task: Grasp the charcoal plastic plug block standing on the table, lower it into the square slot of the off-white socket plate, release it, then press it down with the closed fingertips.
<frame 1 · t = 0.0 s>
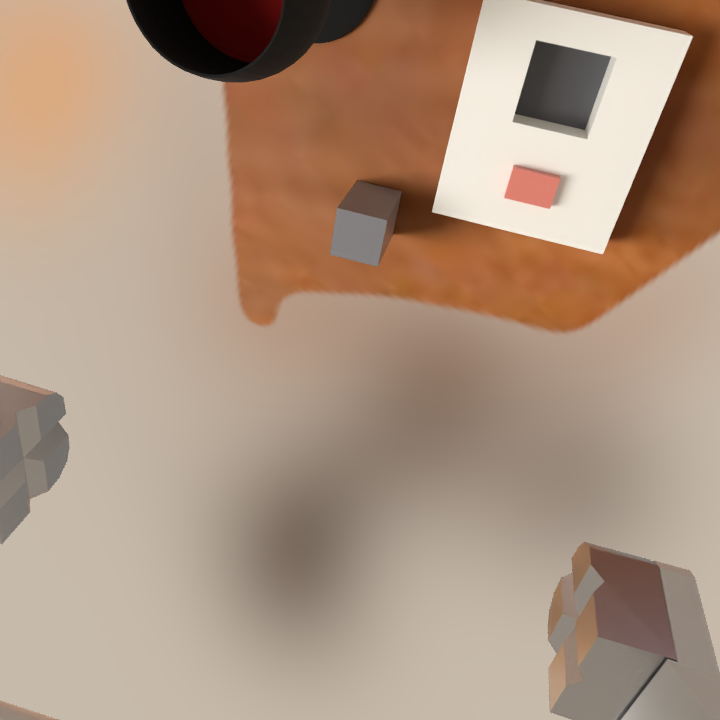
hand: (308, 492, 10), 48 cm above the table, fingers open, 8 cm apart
plug: (375, 207, 58), on the table
socket plate: (548, 123, 52), on the table
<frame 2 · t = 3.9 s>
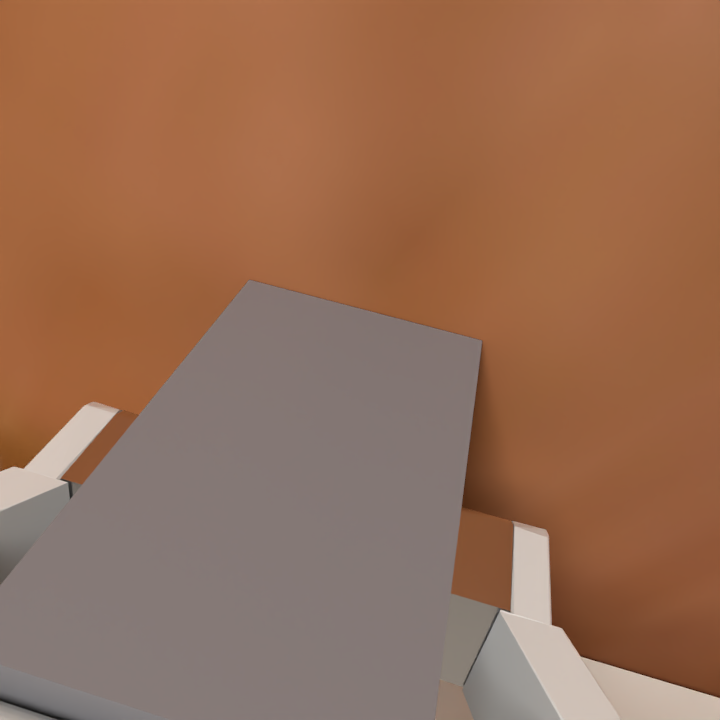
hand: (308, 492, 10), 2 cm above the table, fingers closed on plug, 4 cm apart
plug: (345, 403, 12), on the table, touching gripper
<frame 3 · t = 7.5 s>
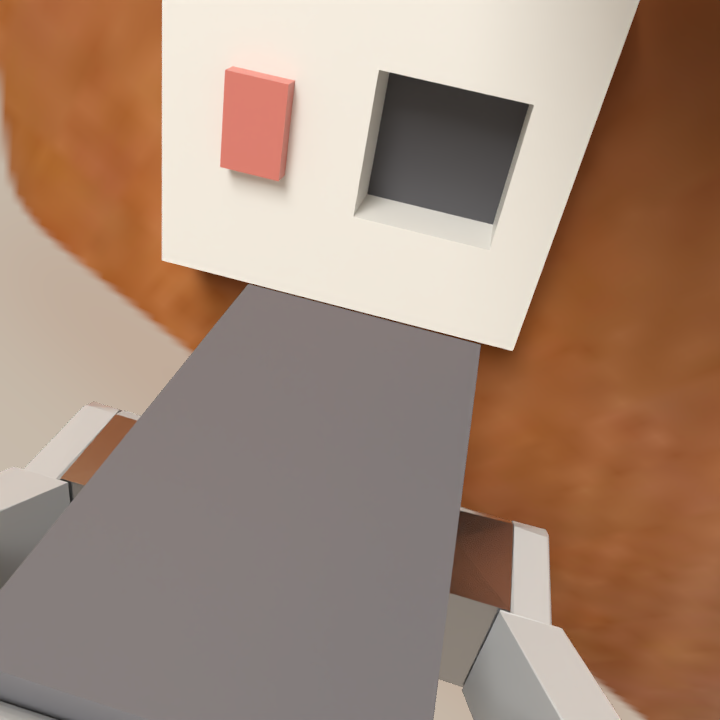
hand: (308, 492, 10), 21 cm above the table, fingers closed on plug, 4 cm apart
plug: (344, 406, 12), point 19 cm above the table, touching gripper
socket plate: (375, 127, 28), on the table
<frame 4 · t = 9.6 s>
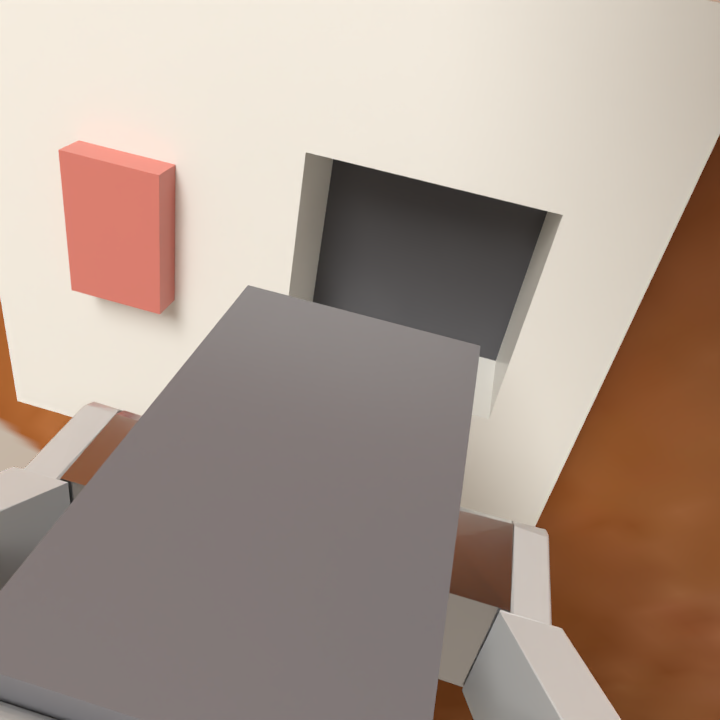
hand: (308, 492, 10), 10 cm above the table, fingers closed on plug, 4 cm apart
plug: (343, 407, 12), point 7 cm above the table, touching gripper
socket plate: (318, 220, 18), on the table
when the fingers open (4 cm above the table, at t = 11.2 s): plug drops 1 cm, resting on socket plate.
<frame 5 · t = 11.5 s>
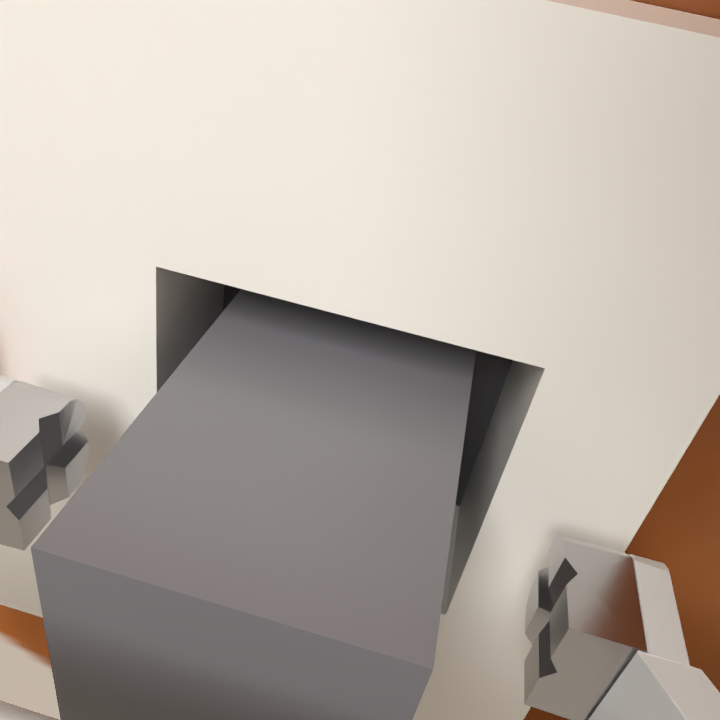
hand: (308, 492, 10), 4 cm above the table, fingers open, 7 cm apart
plug: (355, 372, 13), resting on socket plate
socket plate: (216, 325, 14), on the table
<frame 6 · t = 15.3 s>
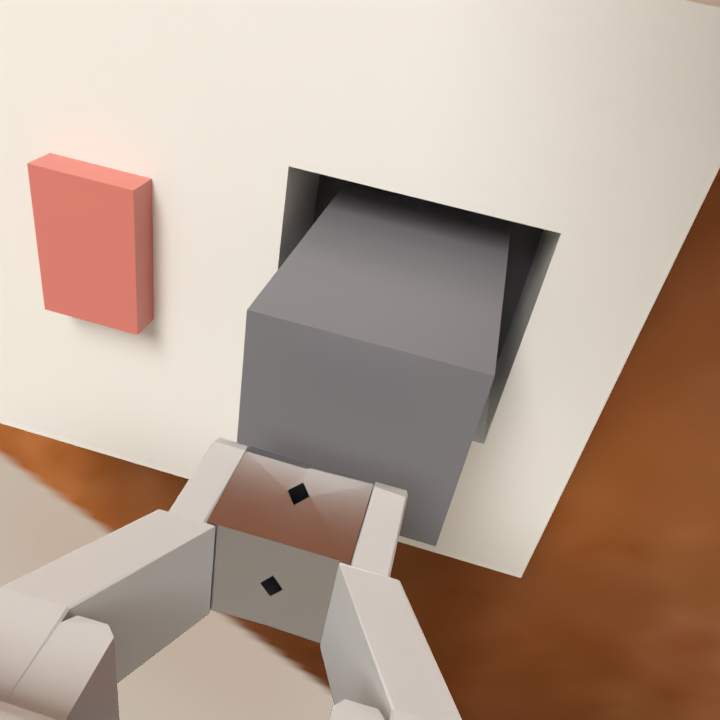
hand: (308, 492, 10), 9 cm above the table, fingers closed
plug: (413, 268, 17), resting on socket plate
socket plate: (306, 234, 18), on the table
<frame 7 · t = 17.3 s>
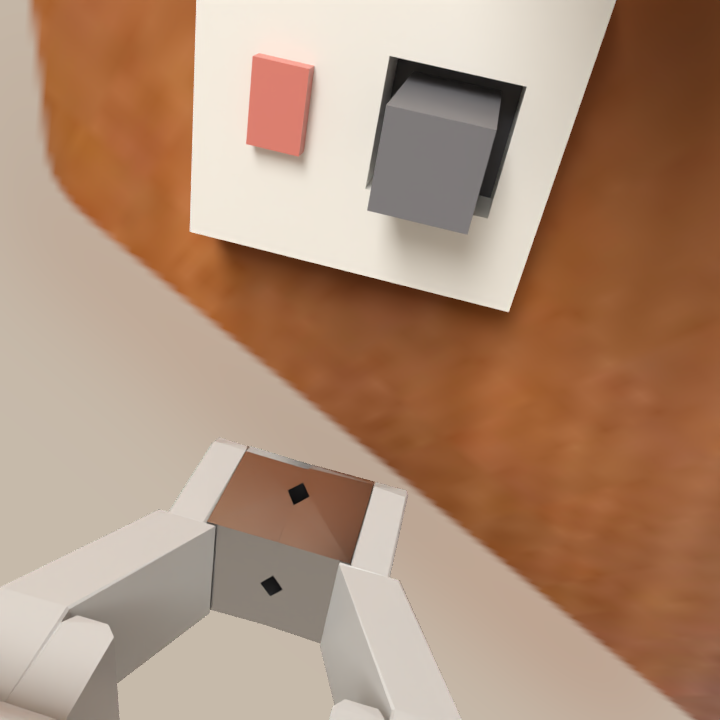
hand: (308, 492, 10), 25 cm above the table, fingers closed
plug: (446, 127, 30), resting on socket plate
socket plate: (384, 109, 31), on the table
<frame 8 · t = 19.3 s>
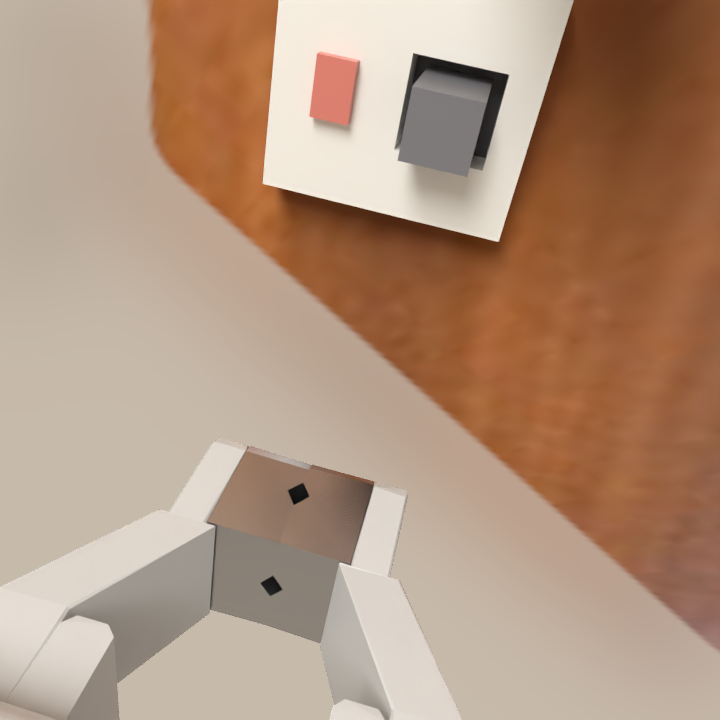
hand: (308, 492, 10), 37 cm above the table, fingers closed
plug: (453, 105, 42), resting on socket plate
socket plate: (407, 92, 42), on the table
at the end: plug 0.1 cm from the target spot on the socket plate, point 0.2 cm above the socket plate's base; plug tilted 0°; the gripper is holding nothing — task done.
